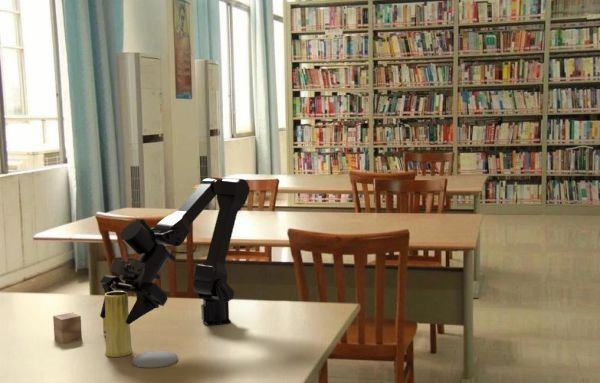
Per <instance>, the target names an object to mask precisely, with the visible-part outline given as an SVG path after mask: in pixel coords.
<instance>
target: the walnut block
mask: <svg viewBox="0 0 600 383" xmlns="http://www.w3.org/2000/svg"><path fill="white" fill-rule="evenodd" d="M52 319H53V336H54V340H56V341H57V342H59V343H60V344H66V343H70V342H72V343H73V342H77V341H79V340H80V341H81V340H83V335H82V316H81V315H80V314H77V313H74V312H67V313H62V314H55V315H53V316H52Z"/></svg>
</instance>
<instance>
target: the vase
mask: <svg viewBox="0 0 600 383" xmlns="http://www.w3.org/2000/svg"><path fill="white" fill-rule="evenodd" d="M128 294H129V293H127V292H126V291H112V292H108V293H106V294H105V293H104V298H105V316H106V336H105V356H107V357H109V358H119V357H120V358H122V357H126V356H129V355H130V354H132V353H133V348H132V339H131V338H132V335H131V324H127V323H126V319H127V317H128V315H129V313H130V312H129V295H128Z"/></svg>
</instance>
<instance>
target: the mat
mask: <svg viewBox="0 0 600 383" xmlns="http://www.w3.org/2000/svg"><path fill="white" fill-rule="evenodd" d="M178 359H179V357H178V354H177V353H176V352H171V351H165V350H164V351H163V350H160V351H159V350H156V351H155V350H154V351H149V352H143V353H141V354H137V355H136V356H134V357H133V358H132V364H134V365H133V366H135V365H136V366H135V367H137V366H139V367H138V368H141V367H146V368H145V369H157V368H158V367H159V368H165V367H167V366H171V365H174V364H175V363H177V361H178Z"/></svg>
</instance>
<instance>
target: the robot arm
mask: <svg viewBox="0 0 600 383" xmlns="http://www.w3.org/2000/svg"><path fill="white" fill-rule="evenodd" d="M250 189H251V187H250V186H249V183H248V182H247V180H245V179H243V178H225V177H224V178H223V179H222V180H221V179H218V178H204V179H203V180H201V182H200V185H198V187H197V188H196V189H195V190H194V192H193V193H191V195H190V196H188V198H187V199H186V200H185V201H184V202H183V203H182V204H181V205H180V207H179V208H178V209H177V210H176V211H175V212H173V213H171V214H169V215H167V216H165V217H164V218H162V219H161V220H160V221H159V222H157V223H156V224H155V226H154V227H150V226H149V225H148V223H147V222H146V220H145V219H144V218H139V217H138V218H136V219H135V221H133V222H130V223H129V224H128V225H126V226H125V227H123V229H122V230H121V233H120V239H121V240H122V241H123V242H124V243H125V244H126V245H127V246H128V247H129V248H130V249H131V251H133V252H134V253H135V254H136V255H141V256H140V257H139V259H135V258H132V259H130V260H129V261H127V260H121V259H116V258H115V259H114V258H113V259H112V262H111V265H110V269H109V273H111V274H113V273H114V274H116V275H119V276H120V278H119V277H118V276H115V275H110V274H107V275H103V277H102V278H101V280H100V281H99V284H100V285H101V289H103V292H104V295H105V294H106V293H108V292H112V291H126V292H127V293H128V294H129V293H130V294H135V295H136V300H135V303H134V304H133V306H132V307H131V309H130V312H129V315H128V317H127V319H126V323H127V324H130V325H131V324H132V323H133V322H135V321H137V320H138V319H140V318H141V317H143V316H144V315H146V314H148V313H149V312H151V311H153V310H155V309H158V308H159V307H161V306H162V307H164V306H165V304H166V303H167V301H168V293H167V292H166V291H165V290H164V289H163V288H162V287H161V286H159V284H158V283H156V282H154V281H159V280H160V278H161V276H160V274H159V273H160V271H161V269H162V268H163V266H164V265H165V263H166V261H168V262H175V261H176V258H175V257H176V256H175V254H174V250H173V249H169V248H167V247H166V246H169V247H171V246H172V247H180V246H181V245H182V244H183V243H184V242H185V240H186V239H187V237H188V235H189V234H190V231H191V226H192V224H193V223H194V221H195V220H196V219H197V218H198V217H199V215H200V214H201V213H202V212H203V211H204V210H205V209H206V208H207V206H209V204H210V203H211V202H212V201H213V199H214V198H216V200H217V204H218V213H217V216H216V220H215V224H214V229H213V232H212V236H211V240H210V245H209V247H208V252H207V256H206V259H205V260H204V262H203V263H202V264H197V265H196V266H195V271H194V274H193V277H192V280H193V285H192V286H193V288H194V289H195V292H196V295H197V297H198V299H201V300H202V304H201V305H200V307H201V308H200V309H201V320H202V321H203V322H204V323H205V324H206V325H205V326H213V325H221V324H230V323H232V320H231V319H230V309H229V308H230V306H229V302H230V301H232V300H233V299H234V296H235V291H234V289H232V287H231V286H230V285H229V284H228V283H227V281H228V273H227V269H226V264H225V263H226V259H227V255H228V251H229V247H230V243H231V240H232V235H233V232H234V231H233V230H234V227H235V224H236V219H237V214H238V213H239V211H241V209H242V208H243V207H244V206H245V204H246V202H247V199H248V197H249V195H250ZM122 280H123V281H124V282H123V281H122ZM99 317H100V318H101V319H103V318H105V317H106V316H105V297H104V299H103V303H102V307H101V310H100V314H99Z"/></svg>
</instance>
